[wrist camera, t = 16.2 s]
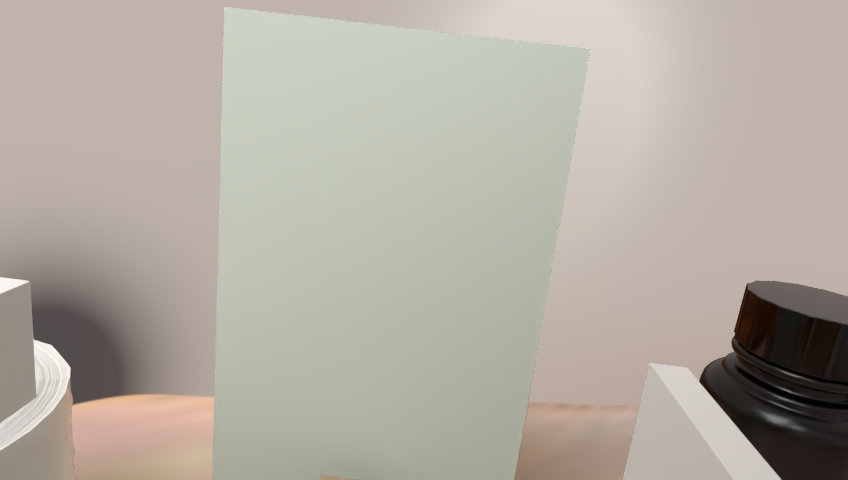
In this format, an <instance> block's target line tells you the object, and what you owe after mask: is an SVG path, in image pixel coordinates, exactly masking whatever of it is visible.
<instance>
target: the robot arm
mask: <svg viewBox="0 0 848 480" xmlns="http://www.w3.org/2000/svg"><path fill="white" fill-rule="evenodd" d="M36 397H37V395H36V378H35V360H34V342H33V325H32V307H31V290H30V281H25V280H17V279H10V278H1V277H0V423H1V422H2V421H4V420H5V419H7V418H8V417H10V416H11V415H12V414H14V413H15V412H17V411H18V410H19V409H21V408H22V407H24V406H25V405H26V404H28V403H29V402H31V401H32V400H34V399H35V398H36ZM623 479H624V480H781V479H780V477H779V476H778V475H777V474H776V473H775V471H774V470H773V469H772V468H771V467H770V466H769V464H768V463H767V462H766V461H765V460H764V458H763V457H762V456H761V455H760V454H759V452H758V451H757V450H756V449H755V448H754V447H753V445H752V444H751V443H750V442H749V441H748V439H747V438H746V437H745V436H744V435H743V433H742V432H741V431H740V430H739V429H738V427H737V426H736V425H735V424H734V423H733V422H732V420H731V419H730V418H729V417H728V416H727V414H726V413H725V412H724V411H723V410H722V408H721V407H720V406H719V405H718V404H717V403H716V401H715V400H714V399H713V398H712V397H711V395H710V394H709V393H708V392H707V391H706V389H705V388H704V387H703V386H702V385H701V384H700V382H699V381H698V380H697V379H696V378H695V376H694V375H693V374H692V373H691V372H690V371H689V369H688V368H686V367H679V366H670V365H664V364H656V363H649V368H648V372H647V376H646V381H645V385H644V389H643V394H642V398H641V402H640V406H639V411H638V415H637V419H636V424H635V428H634V432H633V437H632V441H631V445H630V450H629V454H628V458H627V463H626V467H625V471H624V476H623Z"/></svg>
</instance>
